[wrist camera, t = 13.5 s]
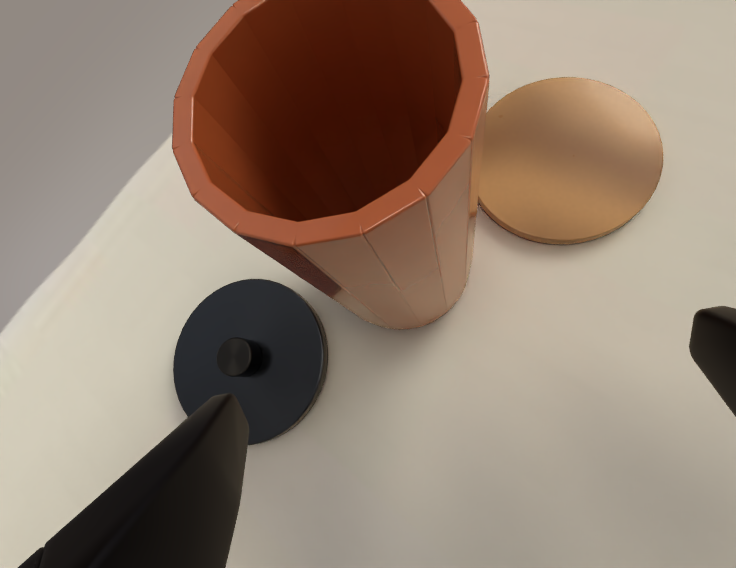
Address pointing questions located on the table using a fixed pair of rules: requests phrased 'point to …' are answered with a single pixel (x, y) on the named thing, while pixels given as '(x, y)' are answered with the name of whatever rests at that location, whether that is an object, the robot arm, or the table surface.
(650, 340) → the table surface
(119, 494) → the robot arm
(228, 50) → the pot
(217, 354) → the lid
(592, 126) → the coaster
